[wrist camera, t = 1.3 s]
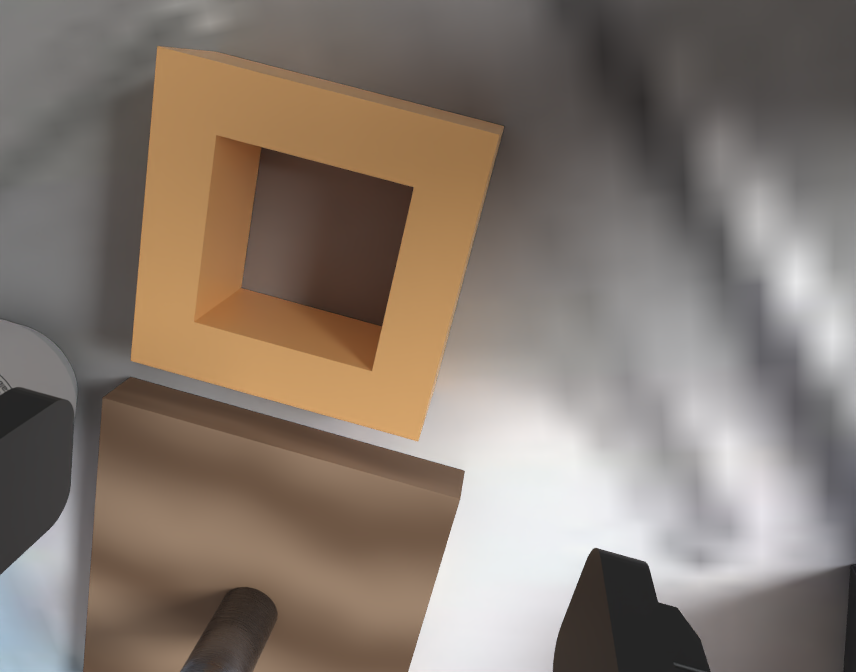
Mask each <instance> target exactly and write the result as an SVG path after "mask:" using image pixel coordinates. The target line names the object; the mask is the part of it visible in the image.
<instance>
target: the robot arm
mask: <svg viewBox="0 0 856 672" xmlns="http://www.w3.org/2000/svg"><path fill="white" fill-rule="evenodd" d="M73 430H74V409H73V406H72V404H71V402H69V401H68V400H66V399H62V398H58V397H55V396H51V395H48V394H44V393H40V392H37V391H33V390H30V389H26V388H22V387H15V388H12V389H10V390H8V391H6V392H4V393H3V394H1V395H0V574H2V573H3V572H4V571H5V570H6V569H7V568H8V567H9V566H10V565H11V564H12V563H13V562H14V561H16V560H17V559H18V558H19V557H20V556H21V555H22V554H23V553H24V552H25V551H26V550H27V549H28V548H30V547H31V546H32V545H33V544H34V543H35V542H36V541H37V540H38V539H39V538H40V537H41V536H42V535H44V534H45V533H46V532H47V531H48V530H49V529H50V528H51V527H52V526H53V525H54V523H55V522H56V521H57V519H58V518H59V516H60V515H61V513H62V511H63V509H64V507H65V505H66V502H67V499H68V496H69V492H70V486H71V468H72V449H73ZM553 672H710V669H709V665H708V662H707V659H706V656H705V653H704V650H703V646H702V643H701V640H700V638H699V637H698V635H697V634H696V633H695V631H694V630H693V629H692V627H691V626H690V625H689V623H688V622H687V621H686V619H685V618H684V616H683V615H682V614H681V612H680V611H679V610H678V608H676V607H673V606H669V605H666V604H662V603H658V600H657V597H656V593H655V589H654V585H653V581H652V577H651V573H650V569H649V566H648V564H647V563H646V562H644V561H641V560H637V559H634V558H630V557H626V556H623V555H619V554H616V553H612V552H608V551H605V550H601V549H598V548H594V549H593V550H592V551H591V552H590V554H589V556H588V558H587V560H586V563H585V565H584V568H583V571H582V573H581V576H580V578H579V581H578V583H577V586H576V589H575V591H574V594H573V596H572V599H571V602H570V604H569V607H568V609H567V612H566V615H565V617H564V620H563V622H562V625H561V628H560V631H559V634H558V638H557V642H556V647H555V653H554V662H553Z"/></svg>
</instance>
